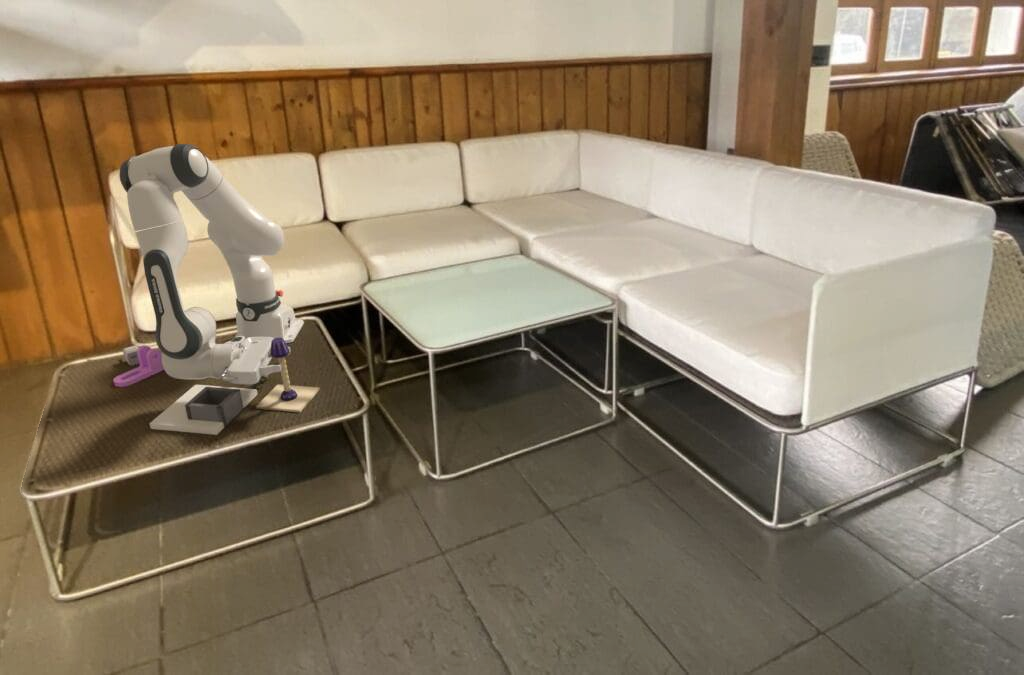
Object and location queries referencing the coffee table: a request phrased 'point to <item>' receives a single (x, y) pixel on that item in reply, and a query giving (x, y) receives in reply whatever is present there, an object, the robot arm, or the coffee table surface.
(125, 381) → the bracket
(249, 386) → the eagle figurine
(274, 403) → the birch pad
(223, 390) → the socket board
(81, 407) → the coffee table surface
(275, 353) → the toy lamp
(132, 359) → the usb wall charger
